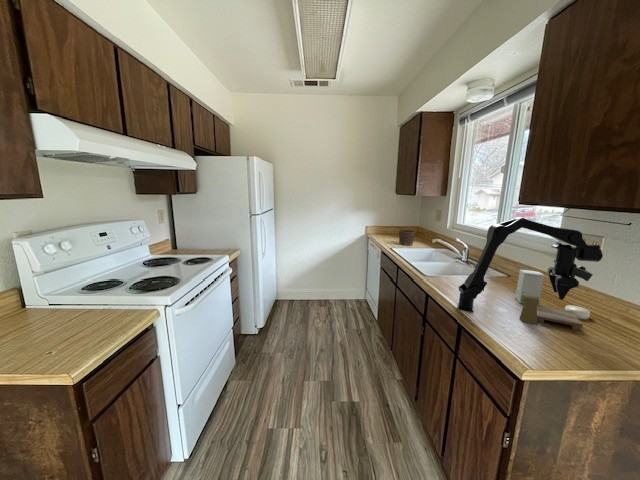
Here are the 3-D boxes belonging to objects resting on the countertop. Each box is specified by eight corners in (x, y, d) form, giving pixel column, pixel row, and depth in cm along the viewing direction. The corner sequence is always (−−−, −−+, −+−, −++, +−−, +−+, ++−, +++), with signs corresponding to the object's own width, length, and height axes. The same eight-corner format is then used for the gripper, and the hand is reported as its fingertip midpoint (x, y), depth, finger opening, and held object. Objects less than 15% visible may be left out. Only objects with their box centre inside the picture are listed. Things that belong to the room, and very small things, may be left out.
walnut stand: (581, 331, 103) (582, 324, 102) (536, 322, 110) (537, 315, 109) (570, 317, 115) (572, 311, 114) (530, 310, 122) (531, 304, 121)
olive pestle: (531, 325, 107) (535, 300, 105) (515, 319, 113) (519, 294, 111) (540, 323, 110) (544, 297, 108) (524, 316, 115) (527, 292, 113)
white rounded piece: (592, 321, 112) (593, 314, 112) (567, 316, 116) (568, 310, 116) (585, 314, 119) (586, 307, 119) (562, 310, 123) (563, 303, 123)
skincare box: (518, 303, 130) (523, 272, 127) (514, 298, 136) (518, 269, 133) (539, 305, 127) (545, 274, 124) (534, 300, 133) (539, 271, 130)
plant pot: (412, 245, 269) (413, 230, 267) (416, 248, 254) (417, 232, 251) (396, 245, 271) (397, 229, 269) (398, 248, 256) (399, 231, 253)
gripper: (601, 268, 96) (593, 308, 99) (584, 257, 112) (577, 292, 114) (561, 263, 101) (554, 301, 104) (549, 254, 117) (544, 287, 120)
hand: (558, 295), depth 110 cm, fingers open, 9 cm apart
